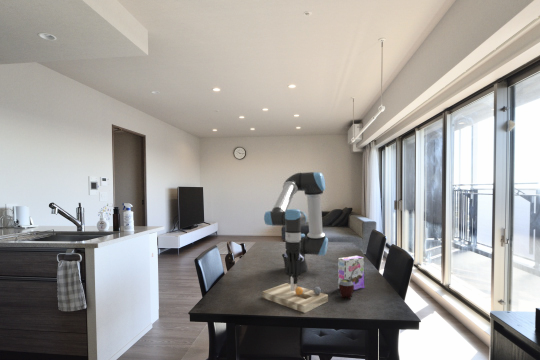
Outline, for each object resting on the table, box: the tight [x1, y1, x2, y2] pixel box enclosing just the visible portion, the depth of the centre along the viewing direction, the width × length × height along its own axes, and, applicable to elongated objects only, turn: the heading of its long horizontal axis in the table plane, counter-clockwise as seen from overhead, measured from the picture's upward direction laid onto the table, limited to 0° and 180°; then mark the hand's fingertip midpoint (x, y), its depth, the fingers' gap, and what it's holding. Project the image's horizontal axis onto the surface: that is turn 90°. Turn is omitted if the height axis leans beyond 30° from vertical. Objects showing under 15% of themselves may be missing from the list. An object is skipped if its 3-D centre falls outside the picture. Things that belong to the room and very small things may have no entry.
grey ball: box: [312, 286, 322, 295], centre depth 137 cm, size 4×4×4 cm
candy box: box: [337, 255, 365, 291], centre depth 154 cm, size 14×6×16 cm, turn 117°
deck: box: [262, 282, 329, 314], centre depth 139 cm, size 26×18×3 cm
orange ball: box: [295, 286, 303, 295], centre depth 137 cm, size 4×4×4 cm
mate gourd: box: [339, 268, 357, 301], centre depth 142 cm, size 8×8×15 cm
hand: (293, 290), depth 139 cm, fingers closed
